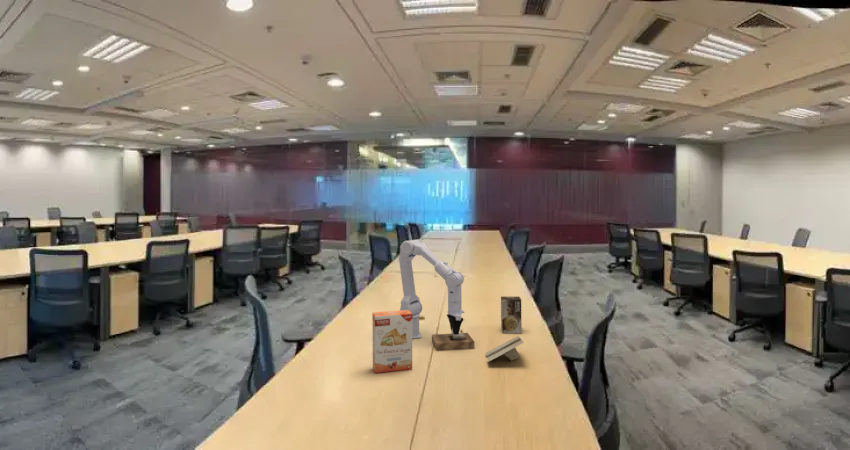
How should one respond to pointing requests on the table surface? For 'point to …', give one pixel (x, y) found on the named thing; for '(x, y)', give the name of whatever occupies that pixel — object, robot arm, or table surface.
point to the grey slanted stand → (505, 349)
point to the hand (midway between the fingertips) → (454, 332)
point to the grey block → (457, 336)
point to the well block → (452, 342)
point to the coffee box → (511, 315)
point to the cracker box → (392, 341)
